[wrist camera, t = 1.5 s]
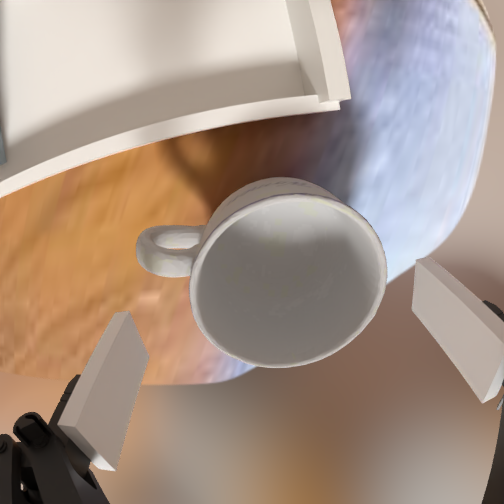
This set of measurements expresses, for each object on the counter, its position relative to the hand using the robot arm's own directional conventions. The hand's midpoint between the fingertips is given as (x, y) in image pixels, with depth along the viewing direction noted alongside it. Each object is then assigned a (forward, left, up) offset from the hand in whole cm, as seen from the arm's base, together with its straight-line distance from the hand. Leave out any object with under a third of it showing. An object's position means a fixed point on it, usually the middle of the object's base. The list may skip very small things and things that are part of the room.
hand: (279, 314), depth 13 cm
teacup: (0, 0, -11) cm, 11 cm away
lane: (-11, +18, -10) cm, 23 cm away
